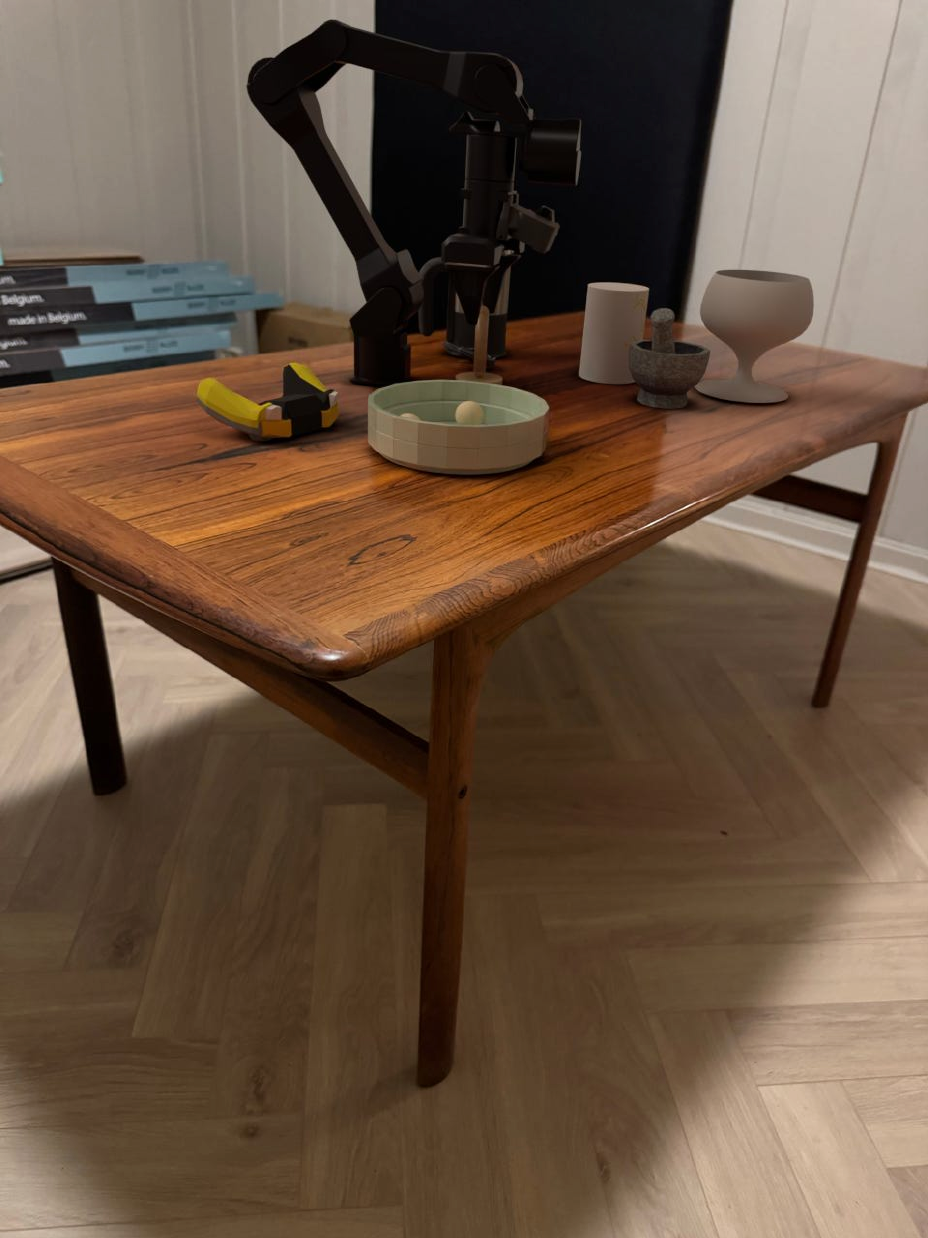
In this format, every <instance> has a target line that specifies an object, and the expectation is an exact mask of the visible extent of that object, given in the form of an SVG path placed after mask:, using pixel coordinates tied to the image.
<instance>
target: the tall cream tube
mask: <svg viewBox="0 0 928 1238" xmlns="http://www.w3.org/2000/svg"><path fill="white" fill-rule="evenodd" d="M649 294H650V288H649V287H647V286H644V285H640V284H639V285H638V284H634V283H623V282H591V283H588V284H587V291H586V302H585V311H584V320H583V330H582V340H581V350H580V360H579V369H578V377H579V378H581V379H583V380H585V381H589V382H592V383H599V384H604V385H605V384H606V385H607V384H608V385H628V384H633V383H636V382H635V381H634V379H633V377H632V375H631V372H630V369H629V357H628V354H629V346H630V344H631V343H633V342H635V341H638V340H644V331H645V326H646V325H645V324H646V317H647V309H648V301H649Z"/></svg>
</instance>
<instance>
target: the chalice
mask: <svg viewBox="0 0 928 1238" xmlns="http://www.w3.org/2000/svg"><path fill="white" fill-rule="evenodd" d="M814 299H815V298H814V291H813V287H812V282H811V280H810V278H808V277H806V276H802V275H798V274H791V273H786V272H778V271H770V270H759V269H758V270H757V269H755V270H754V269H721V270H717V271H716V272H715V273H714V274H713V275H712V276H711V278H710V279H709V282H708V284H707V286H706V288H705V291H704V293H703V296H702V299H701V301H700V302H701V303H700V307H699V315H700V316H699V317H700V320H701V322H702V324H703V326H704V327H705V329H706V330H707V331H708V332H710V333H711V334H712V335H714V336H715V337H716V338H718V339H719V340H720V341H722V342H723V343H724V344H725V345H726V346H727V347H728V348H730V349H731V350H732V352H733V353H734V354H735V357H736V359H737V364H738V367H737V370H736V373H735V374H734V375H733V376H732V377H730V378H714V379H706V380H700V381H699V382H698V384H697V385H695V386H694V388H695V390H697V391H698V392H699V393H702V394H703V395H706V396H709V397H713V398H716V399H720V400H725V401H730V402H736V403H737V402H739V403H748V404H769V403H778V402H782V401H785V400H787V399H788V397H789V395H788V394H787V392H786V391H785V390H783V389H782V388H780V387H777V386H774V385H771V384H767V383H764V382H760V381H759V382H758V381H756V380H755V378H754V377H753V367H754V365H755V363H756V361H758V359H759V358H760V357H761V356H763V355H765V354H766V353H767V352H769V351H771V350H774V349H775V348H777V347H780V346H782V345H784V344H787V343H789V342H791V341H794V340H796V339H797V338H799V337H800V336H802V335H803V334H804V333H805V332H806V331H807V330H808V328H809V327H810V325H811V323H812V320H813V316H814V308H815V307H814V306H815V304H814V303H815V300H814Z"/></svg>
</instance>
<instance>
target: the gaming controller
mask: <svg viewBox="0 0 928 1238" xmlns="http://www.w3.org/2000/svg"><path fill="white" fill-rule="evenodd" d="M339 397H340V393H339V392H337V390H335V389H333V388H329V389H327V388H326V387H325V385H324V384H323V383H322V382H321V381H320V380H319V378H318V377H317V376H316V375H315V374H314V372H313V371H312V370H311V368H309V367H308V366H306V365H304V364H302V363H300V362H295V361H293V362H290V363H288V364H286V365H285V366H283V371H282V396H281V397H277V398H272V399H268V400H264V401H262V402H259V403H256V402H254V401H252V400H250V399H248V398H246V397H244V396H242V395H240V394H239V393H237V392H234V391H232V390H231V389H230V388H229V387H227V386H225V385H224V384H223V383H221V382H220V381H218V380H216V379H214V378H212V377H207V378H204V379H203V380H201V381H199V384H198V386H197V393H196V402H197V404H198V405H199V406H200V407H201V408H202V410H203V411H204V412H205V413H206V414H207V415H209V417H212V419H214V420H215V421H217V422H219V423H221V424H223V425H225V426H228V427H230V428H232V429H235V430H237V431H239V432H242V433H245V434H247V435H248V437H249V438H250V440H252V441H256V442H269V441H270V442H271V441H272V440H273V439H282V438H290V437H294V436H298V435H302V434H306V433H310V432H313V431H317V430H322V429H323V428H330V427H331V426H332V425H333V424H334V422H335V421H336V420H337V418H338V417H339V403H338V399H339Z"/></svg>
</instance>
